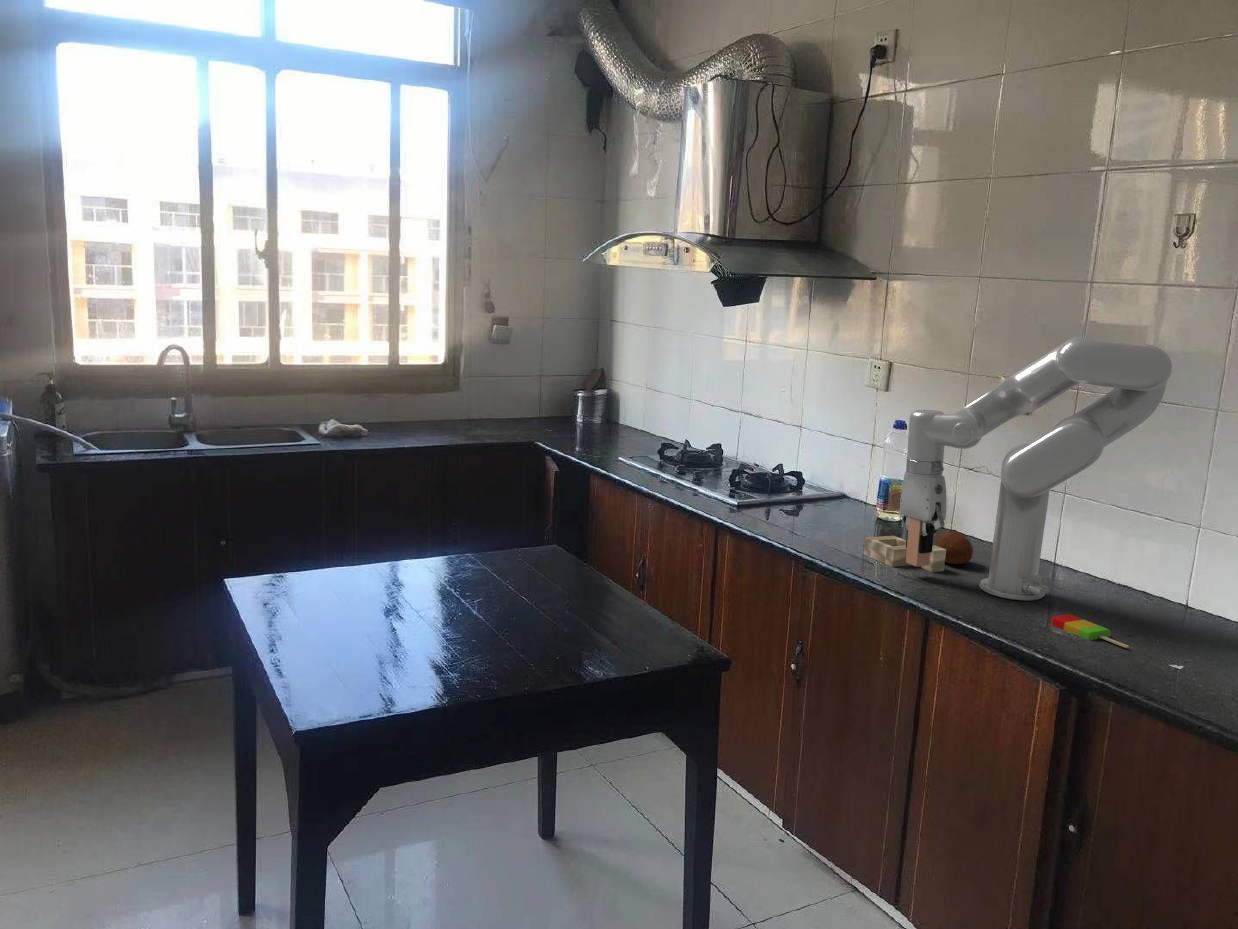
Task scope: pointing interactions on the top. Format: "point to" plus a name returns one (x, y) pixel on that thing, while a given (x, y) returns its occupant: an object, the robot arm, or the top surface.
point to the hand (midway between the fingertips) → (918, 549)
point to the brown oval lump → (955, 547)
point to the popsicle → (1083, 628)
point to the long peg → (915, 544)
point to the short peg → (936, 560)
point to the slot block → (887, 550)
